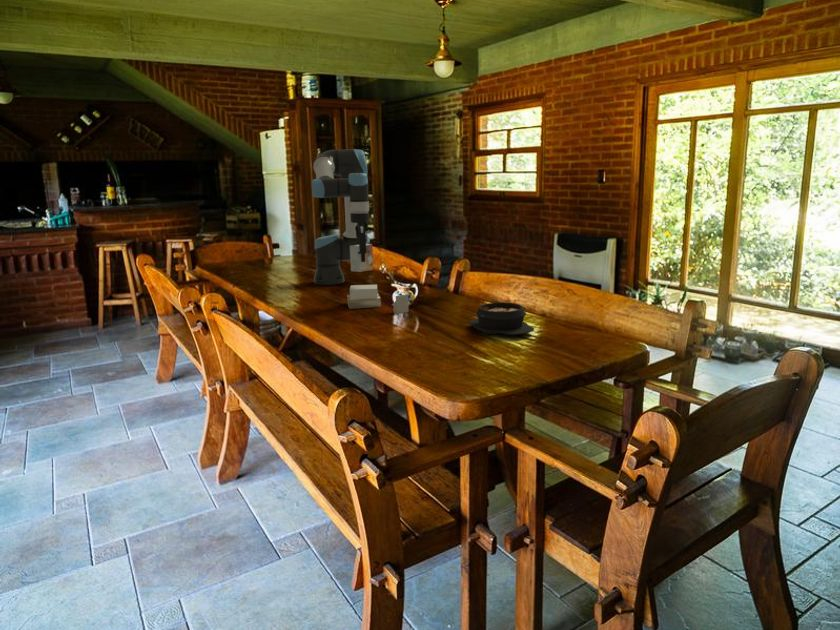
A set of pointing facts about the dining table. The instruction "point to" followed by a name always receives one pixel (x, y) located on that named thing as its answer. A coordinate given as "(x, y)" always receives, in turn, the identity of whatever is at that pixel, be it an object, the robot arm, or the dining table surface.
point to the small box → (356, 261)
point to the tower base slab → (364, 302)
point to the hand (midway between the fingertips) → (362, 267)
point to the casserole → (501, 319)
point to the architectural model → (401, 304)
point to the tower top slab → (363, 291)
